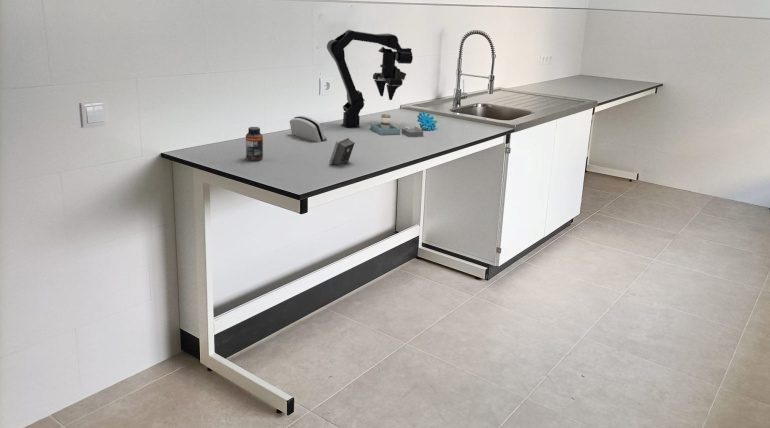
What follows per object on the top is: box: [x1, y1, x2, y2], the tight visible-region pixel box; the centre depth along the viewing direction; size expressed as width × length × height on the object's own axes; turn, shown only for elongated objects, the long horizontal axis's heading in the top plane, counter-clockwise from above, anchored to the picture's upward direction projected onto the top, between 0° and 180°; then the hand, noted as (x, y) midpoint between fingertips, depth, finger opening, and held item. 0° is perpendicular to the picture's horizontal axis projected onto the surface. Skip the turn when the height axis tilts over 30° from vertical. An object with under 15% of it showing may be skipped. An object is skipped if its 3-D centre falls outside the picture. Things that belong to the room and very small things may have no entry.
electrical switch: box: [329, 136, 356, 167], centre depth 236 cm, size 9×5×9 cm, turn 158°
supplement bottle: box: [245, 126, 264, 162], centre depth 233 cm, size 6×6×11 cm
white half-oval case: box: [289, 115, 328, 143], centre depth 270 cm, size 17×5×10 cm, turn 49°
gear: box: [416, 111, 438, 132], centre depth 305 cm, size 11×6×10 cm
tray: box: [370, 123, 401, 136], centre depth 292 cm, size 9×11×2 cm
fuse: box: [380, 113, 392, 129], centre depth 291 cm, size 4×4×7 cm
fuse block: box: [401, 125, 424, 138], centre depth 290 cm, size 7×7×3 cm
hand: (386, 98), depth 299 cm, fingers open, 9 cm apart
